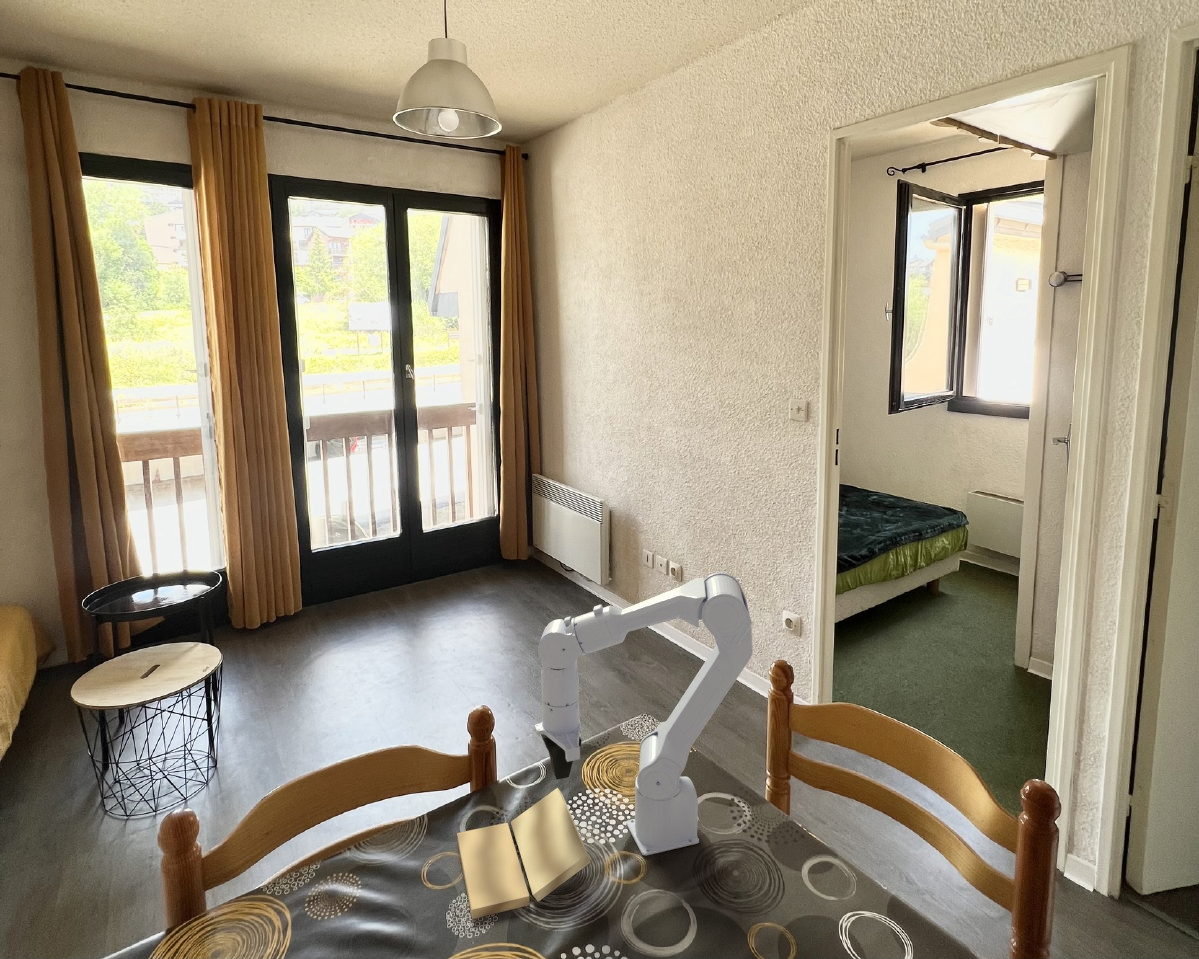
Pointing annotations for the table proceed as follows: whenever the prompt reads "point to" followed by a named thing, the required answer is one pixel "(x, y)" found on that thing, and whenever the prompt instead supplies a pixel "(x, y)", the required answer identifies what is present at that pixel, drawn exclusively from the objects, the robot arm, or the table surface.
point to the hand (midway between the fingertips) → (561, 775)
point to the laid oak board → (491, 870)
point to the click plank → (549, 844)
